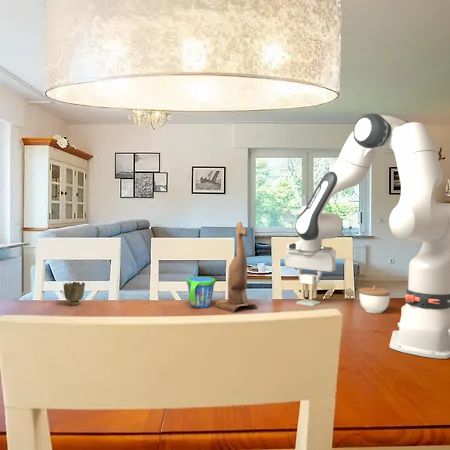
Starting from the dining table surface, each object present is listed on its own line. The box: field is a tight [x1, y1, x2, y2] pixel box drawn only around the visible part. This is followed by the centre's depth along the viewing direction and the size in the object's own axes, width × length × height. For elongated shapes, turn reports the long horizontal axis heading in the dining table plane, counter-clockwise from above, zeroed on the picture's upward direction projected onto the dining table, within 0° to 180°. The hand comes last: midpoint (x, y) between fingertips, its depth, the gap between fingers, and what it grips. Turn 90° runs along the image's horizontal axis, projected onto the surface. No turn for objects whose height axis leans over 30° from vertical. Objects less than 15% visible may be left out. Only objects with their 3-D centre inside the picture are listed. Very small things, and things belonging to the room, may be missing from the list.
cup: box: [63, 281, 86, 307], centre depth 155 cm, size 8×7×8 cm
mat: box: [295, 298, 321, 307], centre depth 166 cm, size 7×7×1 cm
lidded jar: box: [358, 285, 391, 314], centre depth 155 cm, size 11×11×9 cm
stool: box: [299, 273, 319, 301], centre depth 166 cm, size 5×5×9 cm
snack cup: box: [185, 276, 216, 309], centre depth 158 cm, size 16×10×10 cm
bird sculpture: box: [215, 221, 259, 314], centre depth 155 cm, size 11×12×32 cm
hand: (309, 281), depth 166 cm, fingers closed on stool, 5 cm apart
